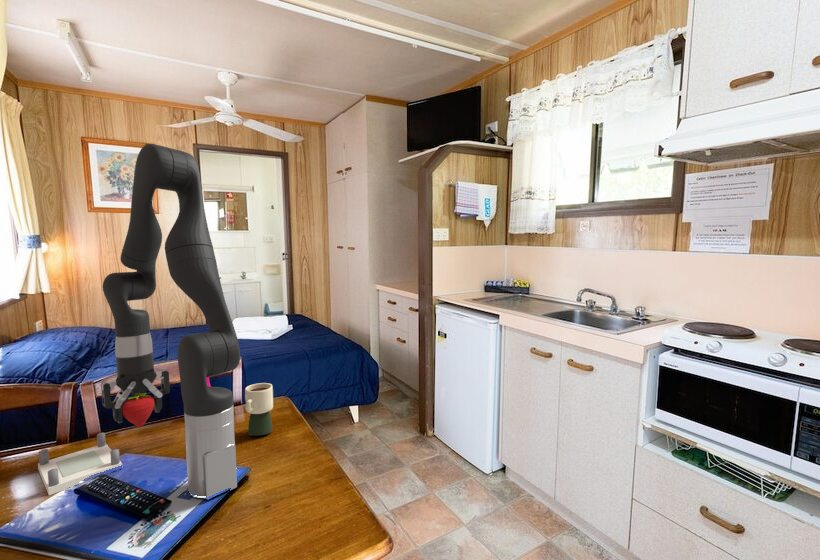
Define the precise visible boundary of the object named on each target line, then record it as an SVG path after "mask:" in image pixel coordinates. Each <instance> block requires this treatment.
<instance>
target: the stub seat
mask: <svg viewBox="0 0 820 560" xmlns="http://www.w3.org/2000/svg"><path fill="white" fill-rule="evenodd" d="M96 441H97V443H96V444H97V445H94V446H92V447H88V448H85V449H82V450H78V451H75V452H71V453H69V454H65V455H61V456H59V457H55V458H52V459H50V456H49V454H50V453H49V449H48V448H45V449H41V450H39V451H38V460H39V462H38V463H37V468H38V473H39V475H40V478H41V479H42V483H43V484H44V487H45V489H46V491H47V495H48V496H51V495H55V494H57V493H59V492H62V491H64V490H65V491H66V490H67V488H68V489H70V488H69V487H71V488H73V487H72V486H74V485H75V484H77V483H79V482H80V481H82V480H84V479H85V478H87V477H89V476H91V475H94V474H96V473H100V472H104V471H106V470H109V469H112V468H115V467H118V466H121V465H122V466H123V462H122V461H121V460H120V458H121V457H120V449H119V448H115V449H111V448H110V447H109V446H108V445H109V444H107V443H106V442H107V441H106V433H105V432H99V433H97V434H96ZM74 487H75V486H74Z"/></svg>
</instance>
